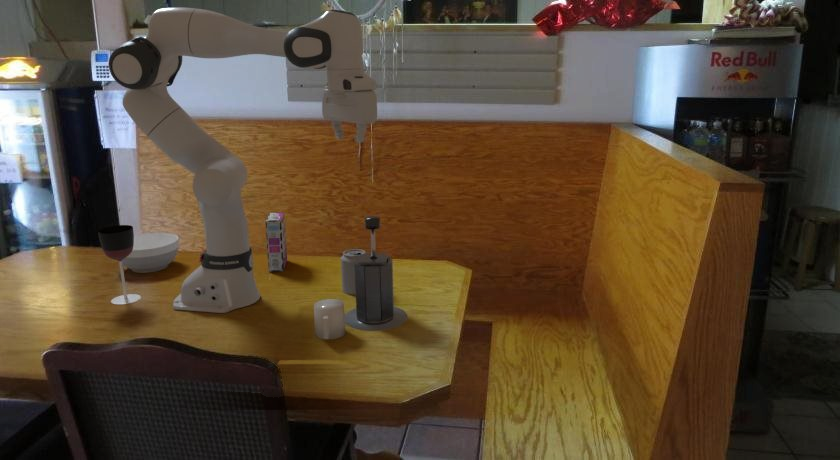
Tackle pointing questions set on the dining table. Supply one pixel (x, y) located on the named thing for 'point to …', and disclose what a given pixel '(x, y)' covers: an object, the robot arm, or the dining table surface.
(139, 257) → the bowl
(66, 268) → the dining table surface
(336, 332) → the white rounded cylinder
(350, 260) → the can
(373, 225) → the plunger
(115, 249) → the wineglass
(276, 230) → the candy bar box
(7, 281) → the dining table surface
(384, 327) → the coaster
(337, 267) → the dining table surface
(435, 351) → the dining table surface
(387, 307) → the carafe
